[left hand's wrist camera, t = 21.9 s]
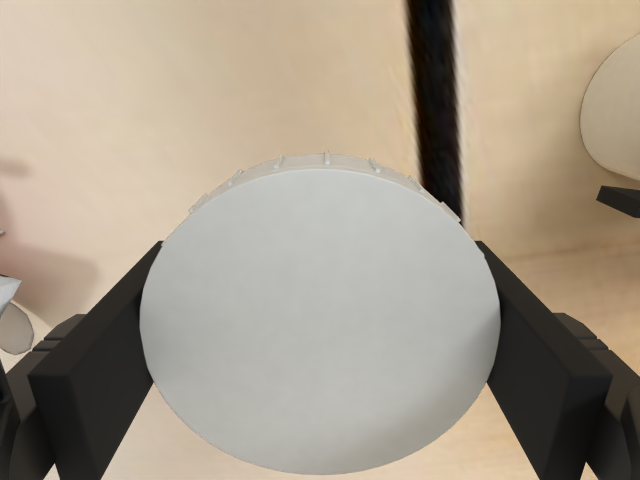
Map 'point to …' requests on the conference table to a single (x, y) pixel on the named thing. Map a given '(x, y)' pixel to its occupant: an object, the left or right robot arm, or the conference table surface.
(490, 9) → the conference table surface
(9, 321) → the fish
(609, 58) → the jar
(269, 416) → the lid
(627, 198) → the right robot arm
